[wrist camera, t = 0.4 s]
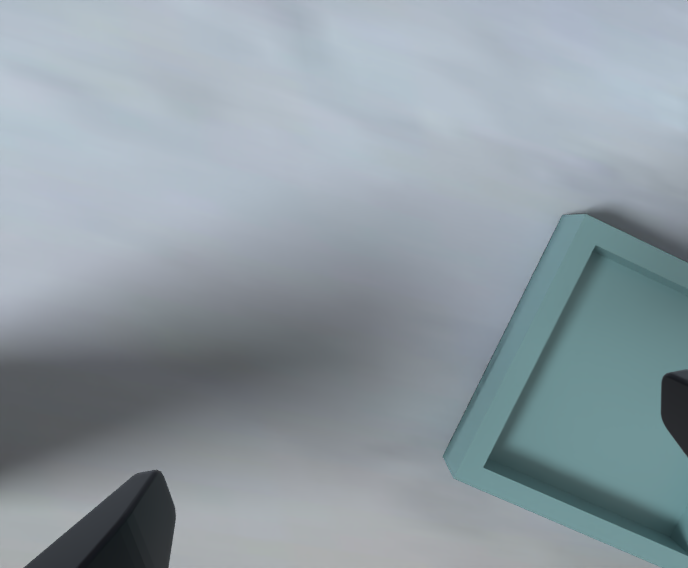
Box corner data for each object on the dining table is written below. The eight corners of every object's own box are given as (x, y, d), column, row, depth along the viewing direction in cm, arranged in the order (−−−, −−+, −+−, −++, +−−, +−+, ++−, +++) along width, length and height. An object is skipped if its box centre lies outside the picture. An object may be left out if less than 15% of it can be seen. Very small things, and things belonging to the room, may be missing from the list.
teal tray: (669, 554, 26) (701, 584, 24) (442, 456, 25) (453, 478, 23) (795, 326, 25) (840, 336, 22) (562, 214, 24) (585, 213, 22)
